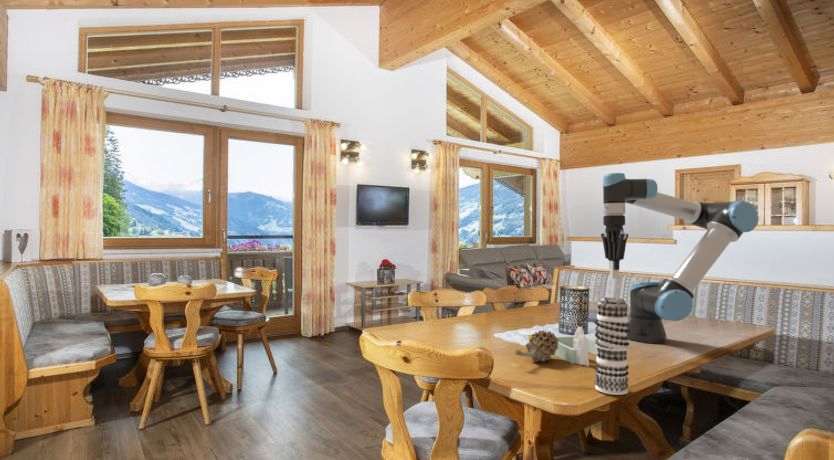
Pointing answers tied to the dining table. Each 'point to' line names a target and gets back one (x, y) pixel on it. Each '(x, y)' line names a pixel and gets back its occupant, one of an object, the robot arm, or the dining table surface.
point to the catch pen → (567, 349)
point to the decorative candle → (612, 346)
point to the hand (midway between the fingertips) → (614, 278)
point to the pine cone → (540, 346)
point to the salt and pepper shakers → (581, 347)
